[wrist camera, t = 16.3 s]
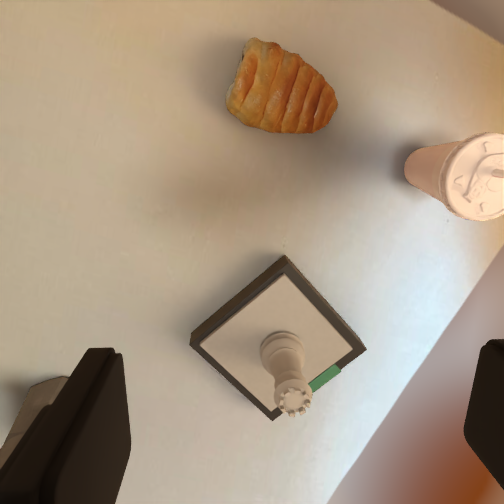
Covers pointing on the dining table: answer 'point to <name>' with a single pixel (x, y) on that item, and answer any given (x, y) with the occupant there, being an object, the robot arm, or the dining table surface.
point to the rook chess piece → (287, 372)
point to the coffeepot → (30, 412)
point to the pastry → (279, 91)
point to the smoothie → (462, 175)
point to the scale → (274, 322)
